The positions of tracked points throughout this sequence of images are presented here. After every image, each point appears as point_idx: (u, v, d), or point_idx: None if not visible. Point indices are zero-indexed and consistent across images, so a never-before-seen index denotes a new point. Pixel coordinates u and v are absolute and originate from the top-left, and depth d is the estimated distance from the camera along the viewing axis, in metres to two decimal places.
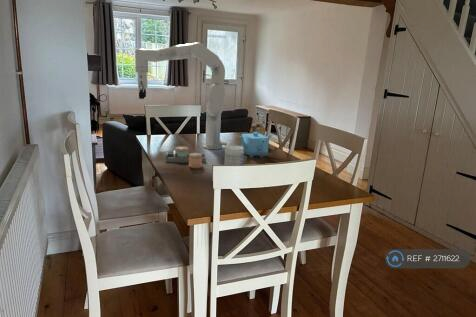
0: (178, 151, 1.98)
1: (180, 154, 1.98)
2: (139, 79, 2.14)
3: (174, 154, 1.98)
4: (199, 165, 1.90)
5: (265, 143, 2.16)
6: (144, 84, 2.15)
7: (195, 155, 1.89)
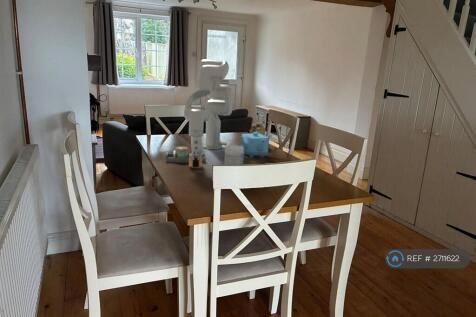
0: (178, 151, 1.98)
1: (180, 154, 1.98)
2: (194, 145, 1.84)
3: (174, 154, 1.98)
4: (199, 165, 1.90)
5: (265, 143, 2.16)
6: (199, 150, 1.85)
7: None
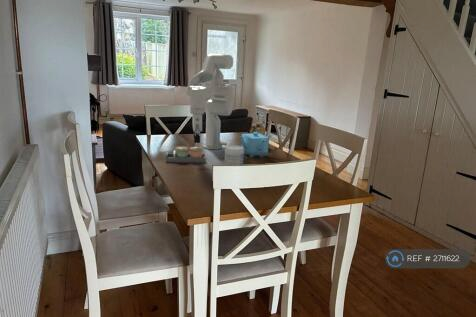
0: (178, 151, 1.98)
1: (180, 154, 1.98)
2: (195, 122, 1.94)
3: (174, 154, 1.98)
4: None
5: (265, 143, 2.16)
6: (200, 127, 1.95)
7: (195, 148, 2.01)
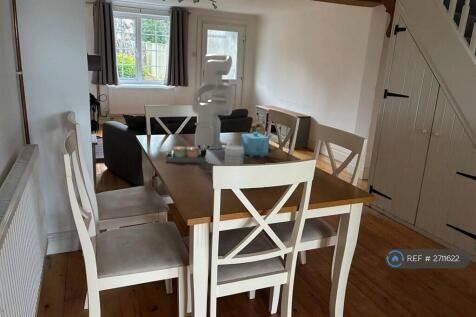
0: (176, 151, 1.98)
1: (178, 154, 1.98)
2: None
3: (172, 154, 1.97)
4: None
5: (265, 143, 2.16)
6: (195, 140, 1.99)
7: (192, 148, 2.00)
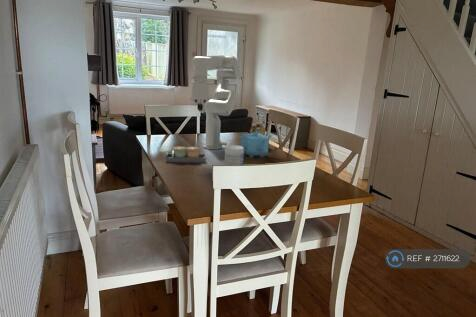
0: (176, 151, 1.98)
1: (178, 154, 1.98)
2: (192, 88, 2.06)
3: (172, 154, 1.97)
4: None
5: (265, 143, 2.16)
6: None
7: (192, 148, 2.00)
